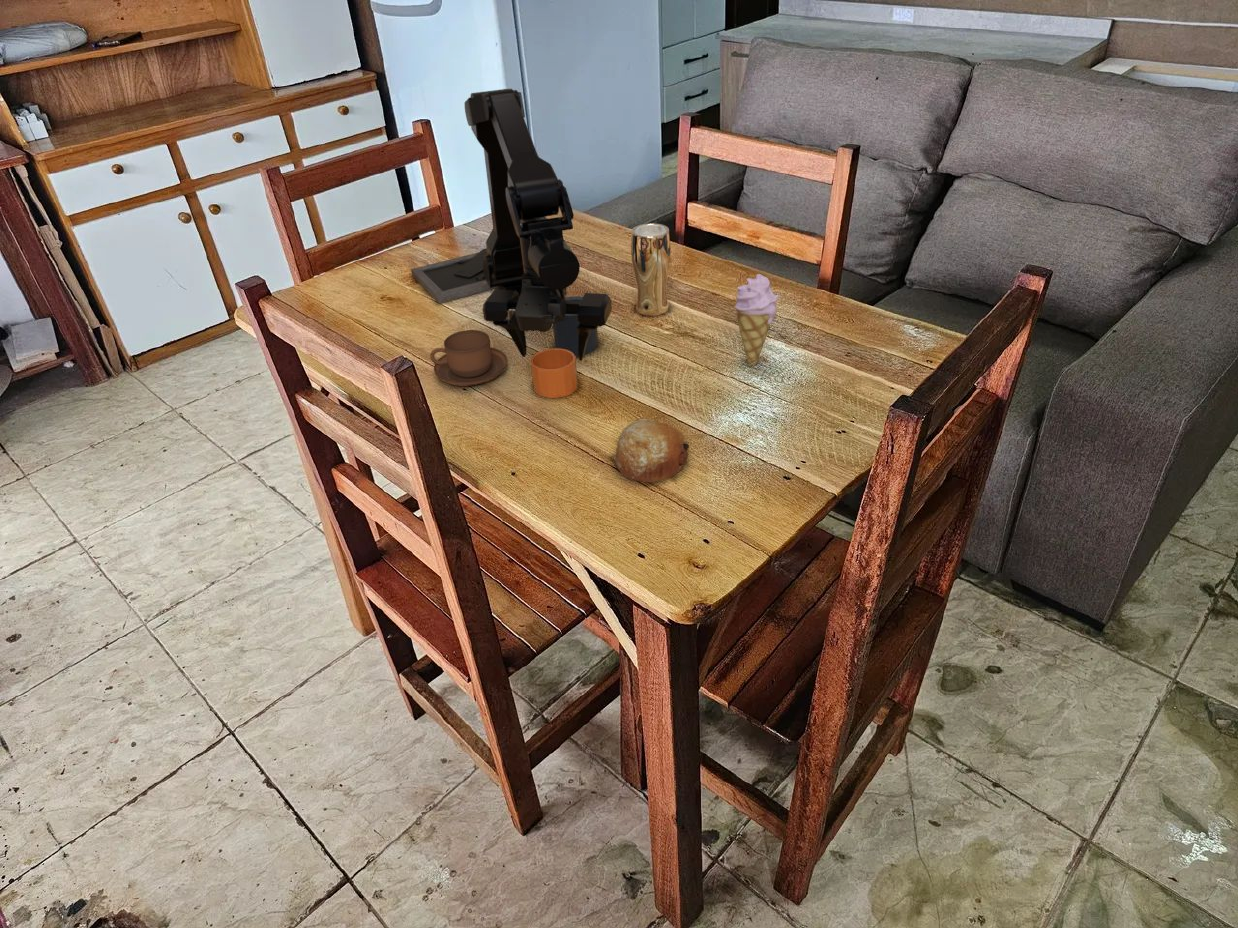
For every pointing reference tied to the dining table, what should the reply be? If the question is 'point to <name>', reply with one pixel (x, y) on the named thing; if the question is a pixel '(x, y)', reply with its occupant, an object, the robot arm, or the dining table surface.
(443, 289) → the picture frame
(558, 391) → the cup
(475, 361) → the cup and saucer
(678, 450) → the bread roll
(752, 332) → the ice cream cone
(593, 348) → the jar
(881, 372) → the dining table surface
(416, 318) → the dining table surface
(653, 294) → the beer glass
